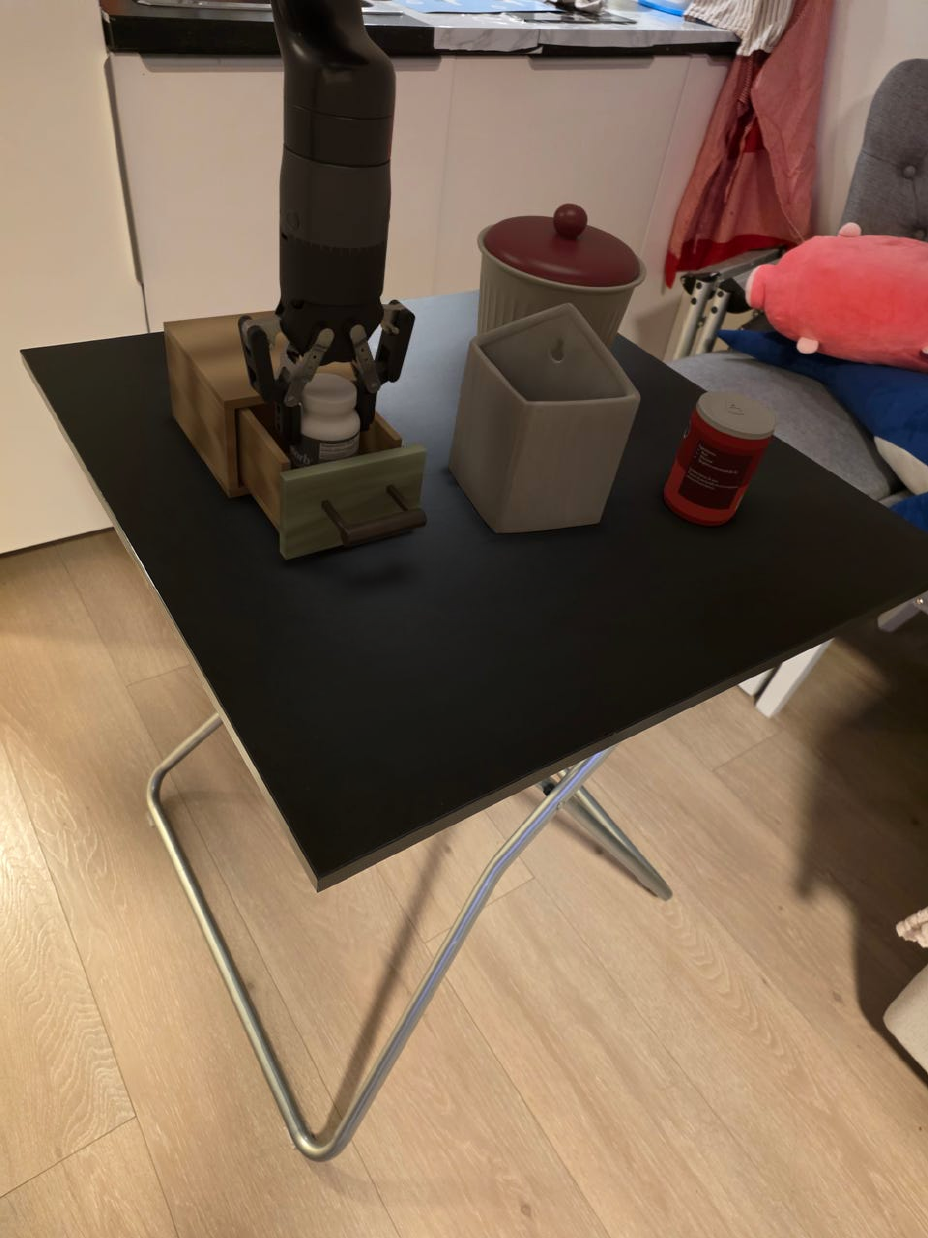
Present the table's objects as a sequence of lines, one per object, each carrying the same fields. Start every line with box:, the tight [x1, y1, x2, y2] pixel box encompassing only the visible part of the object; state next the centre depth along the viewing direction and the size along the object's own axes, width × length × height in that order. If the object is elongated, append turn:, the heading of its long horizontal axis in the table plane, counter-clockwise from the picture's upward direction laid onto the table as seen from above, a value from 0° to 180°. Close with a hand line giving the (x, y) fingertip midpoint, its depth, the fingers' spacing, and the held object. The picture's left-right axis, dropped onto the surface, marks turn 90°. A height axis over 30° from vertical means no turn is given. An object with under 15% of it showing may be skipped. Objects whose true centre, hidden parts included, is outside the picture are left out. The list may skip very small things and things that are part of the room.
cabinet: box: [162, 309, 357, 499], centre depth 76 cm, size 15×14×10 cm
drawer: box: [235, 401, 428, 561], centre depth 69 cm, size 19×13×8 cm, turn 33°
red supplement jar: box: [663, 390, 778, 527], centre depth 80 cm, size 8×8×11 cm
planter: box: [447, 303, 641, 534], centre depth 71 cm, size 16×8×19 cm, turn 67°
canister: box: [476, 203, 648, 361], centre depth 88 cm, size 18×18×21 cm
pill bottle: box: [290, 373, 360, 470], centre depth 68 cm, size 6×6×10 cm
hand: (325, 432), depth 67 cm, fingers closed on pill bottle, 5 cm apart
